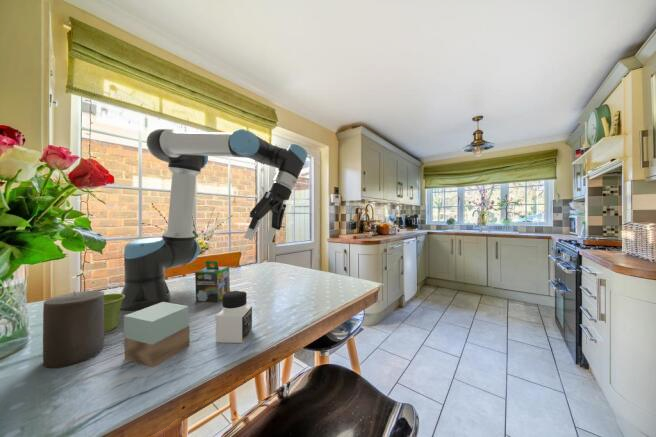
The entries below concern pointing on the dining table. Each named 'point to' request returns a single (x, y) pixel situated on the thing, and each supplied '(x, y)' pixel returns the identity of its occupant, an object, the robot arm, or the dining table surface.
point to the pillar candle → (72, 328)
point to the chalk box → (212, 282)
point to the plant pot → (112, 310)
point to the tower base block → (156, 348)
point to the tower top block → (156, 322)
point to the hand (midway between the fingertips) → (257, 242)
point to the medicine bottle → (234, 318)
